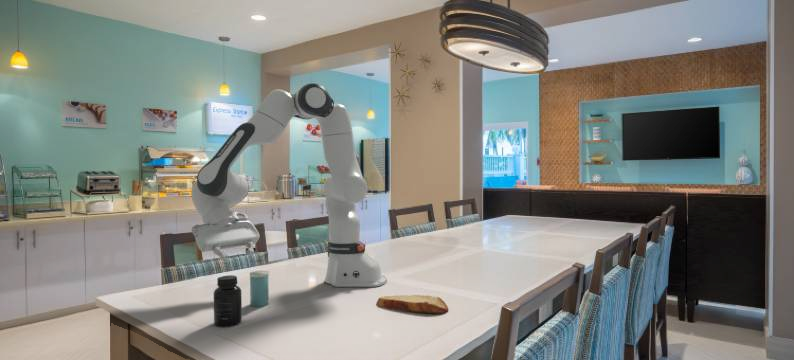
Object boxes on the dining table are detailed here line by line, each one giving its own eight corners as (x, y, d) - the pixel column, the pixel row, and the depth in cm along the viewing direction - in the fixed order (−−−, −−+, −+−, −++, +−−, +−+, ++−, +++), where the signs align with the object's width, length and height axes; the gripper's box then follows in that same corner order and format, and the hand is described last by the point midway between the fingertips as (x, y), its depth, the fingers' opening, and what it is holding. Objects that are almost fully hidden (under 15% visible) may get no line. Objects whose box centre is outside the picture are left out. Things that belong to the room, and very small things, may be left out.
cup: (272, 302, 137) (271, 271, 137) (263, 307, 132) (263, 275, 131) (255, 301, 138) (255, 270, 138) (246, 306, 133) (246, 274, 132)
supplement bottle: (218, 319, 121) (218, 274, 121) (244, 318, 122) (244, 274, 122) (210, 328, 114) (209, 280, 114) (237, 327, 115) (237, 280, 115)
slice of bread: (372, 303, 137) (372, 291, 137) (426, 297, 144) (426, 285, 144) (394, 321, 120) (394, 307, 120) (454, 313, 127) (454, 300, 127)
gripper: (193, 218, 136) (212, 254, 131) (251, 214, 153) (269, 245, 147) (185, 232, 139) (203, 268, 133) (243, 226, 155) (261, 257, 150)
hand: (238, 256), depth 140 cm, fingers open, 8 cm apart
